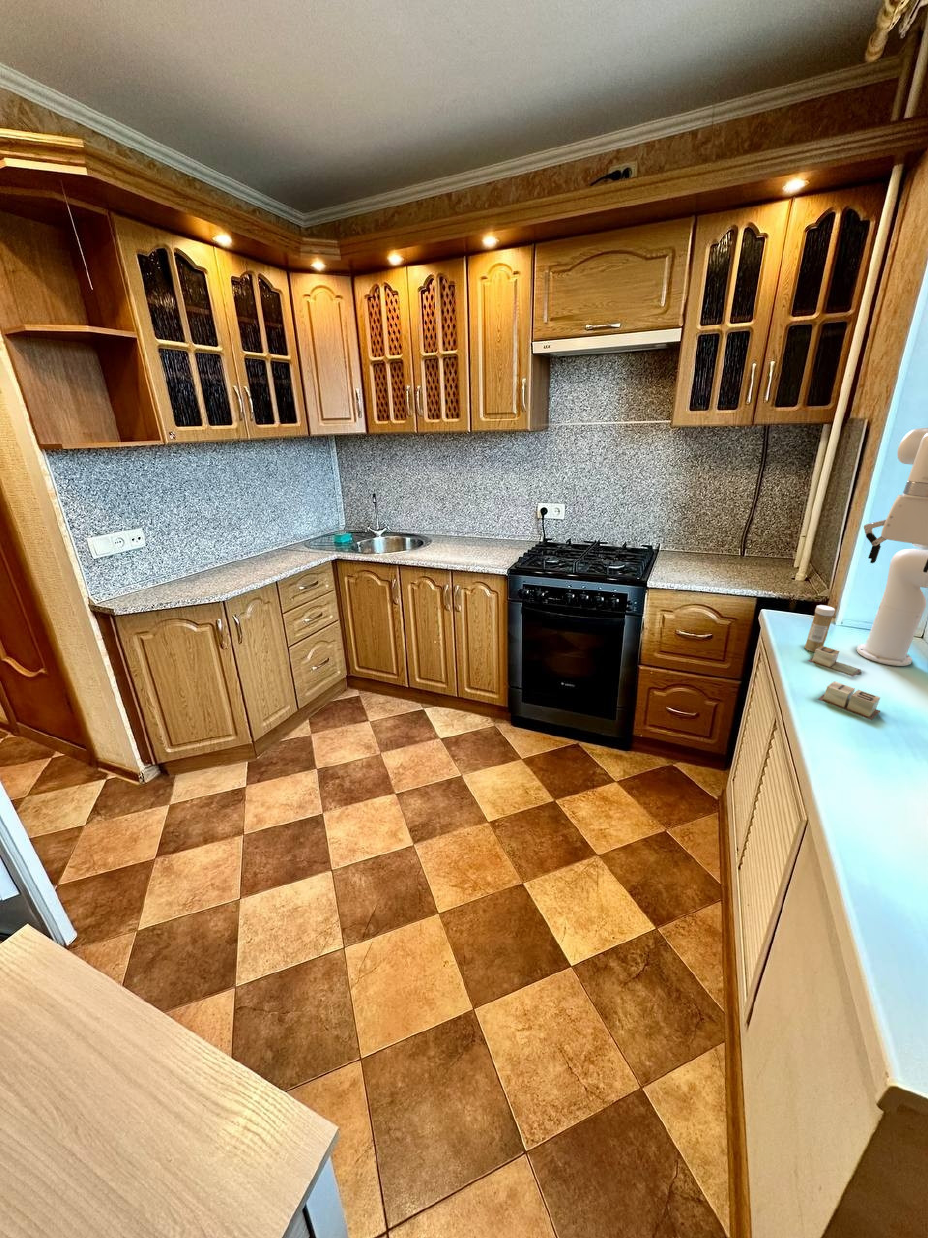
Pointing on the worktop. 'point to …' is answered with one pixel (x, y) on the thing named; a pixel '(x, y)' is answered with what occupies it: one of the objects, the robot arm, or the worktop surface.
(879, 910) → the worktop surface
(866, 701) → the small square block
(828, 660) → the beige narrow stepped slab
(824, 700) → the near stepped slab
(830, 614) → the sprinkles bottle
